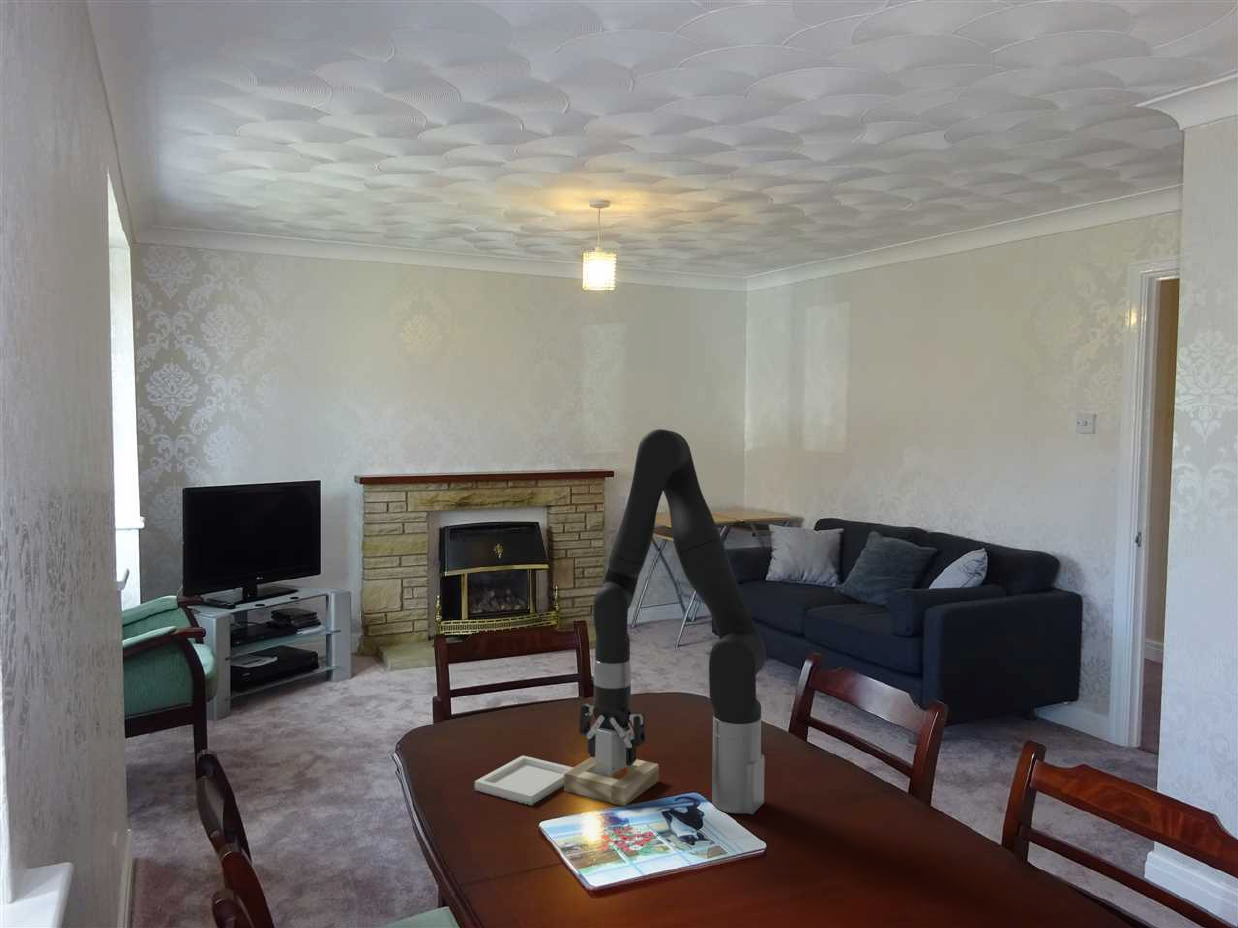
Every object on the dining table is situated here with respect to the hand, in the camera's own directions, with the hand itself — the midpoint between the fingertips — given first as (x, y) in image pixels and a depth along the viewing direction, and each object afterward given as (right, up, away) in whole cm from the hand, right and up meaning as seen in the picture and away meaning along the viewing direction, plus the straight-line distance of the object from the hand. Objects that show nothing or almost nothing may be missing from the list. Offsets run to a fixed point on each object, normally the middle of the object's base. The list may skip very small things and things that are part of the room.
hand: (611, 759), depth 177 cm
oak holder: (0, -5, 0) cm, 5 cm away
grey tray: (-17, -5, +1) cm, 18 cm away
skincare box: (0, -6, 0) cm, 6 cm away
